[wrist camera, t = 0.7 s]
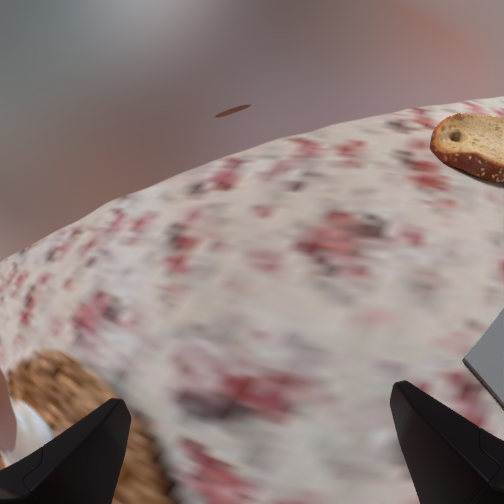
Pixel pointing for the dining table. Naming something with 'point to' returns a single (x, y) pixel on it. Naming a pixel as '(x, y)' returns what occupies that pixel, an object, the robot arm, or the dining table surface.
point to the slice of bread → (471, 145)
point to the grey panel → (490, 358)
